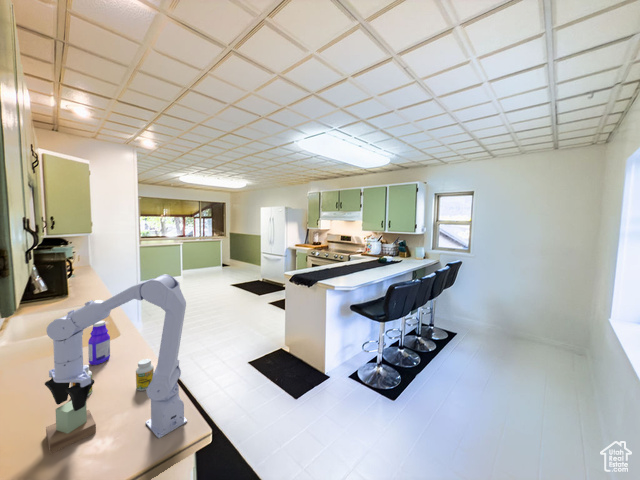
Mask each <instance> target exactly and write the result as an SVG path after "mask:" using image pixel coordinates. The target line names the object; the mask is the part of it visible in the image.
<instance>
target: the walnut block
mask: <svg viewBox="0 0 640 480" xmlns="http://www.w3.org/2000/svg"><path fill="white" fill-rule="evenodd" d="M96 425H97V423H96V421H95V419H94V417H93V415H92V413H91V411H90V409H87V422H86V423H84V424H82V425H81V426H79V427H78V428H76V429H75V430H73V431H71V432H70V433H68V434H67V433H64V432H61V431H57V430H56V422H55V423H53V424H50V425H48V426H46V427H45V430H46V432H45V433H46V441H47V446H48V450H49V454H50V455H51V454H53V453H55V452H58V451H59V450H62V449H64V448H66V447H68V446H70V445H72V444H75V443H77V442H79V441H81V440H83V439H85V438H87V437H90V436H92V435H93V434H95V433H97V426H96Z"/></svg>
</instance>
